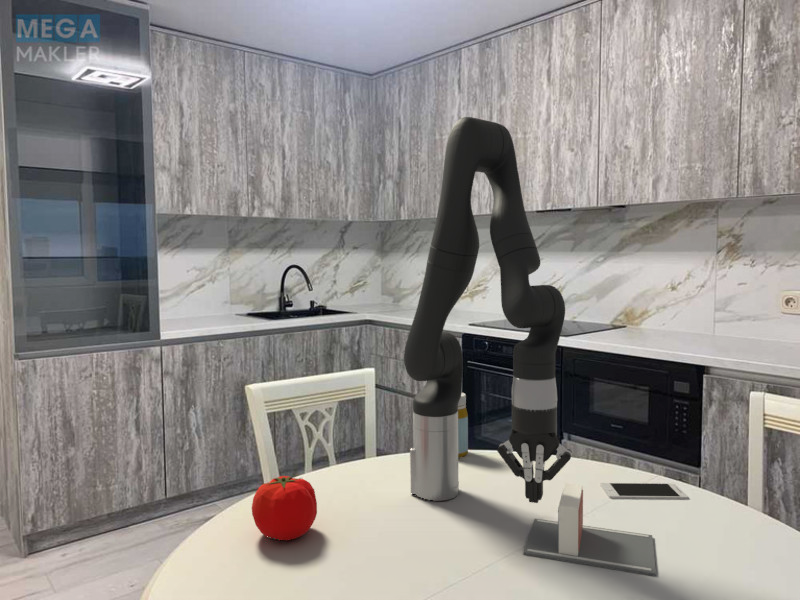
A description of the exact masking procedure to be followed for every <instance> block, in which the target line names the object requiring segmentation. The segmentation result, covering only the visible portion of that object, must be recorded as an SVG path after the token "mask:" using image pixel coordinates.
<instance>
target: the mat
mask: <svg viewBox="0 0 800 600" xmlns="http://www.w3.org/2000/svg"><path fill="white" fill-rule="evenodd" d="M522 554H523V555H525V556H531V557H538V558H543V559H548V560H549V559H550V560H554V561H555V560H556V561H561V562H568V563H573V564H579V565H586V566H592V567H599V568H604V569H610V570H611V569H612V570H617V571H622V572H629V573H635V574H641V575H645V576H653V577H656V576H657V573H656V560H655V549H654V539H653V535H652V534H647V533H639V532H631V531H624V530H617V529H612V528H605V527H598V526H597V527H596V526H592V525H591V526H590V525H584V524H583V529H582V536H581V542H580V548H579V552H578V556H573V555H567V554H561V553H559V548H558V521H554V520H548V519H540V518H534V519H533V521H532V524H531V527H530V531H529V535H528V537H527V539H526V542H525V545H524V549H523V552H522Z"/></svg>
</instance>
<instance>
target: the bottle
mask: <svg viewBox="0 0 800 600" xmlns="http://www.w3.org/2000/svg"><path fill="white" fill-rule="evenodd" d="M466 400H467V395H466V393H464V392H462V393H461V398H460V400H459V403H458V459H460V458H459V457H461V458H464V457H466V455H468V453H469V439H468V438H469V418H468V417H469V415H468V411H467V410H468V409H467V408H466V407H467V405H466V403H467V401H466Z"/></svg>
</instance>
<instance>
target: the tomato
mask: <svg viewBox="0 0 800 600" xmlns="http://www.w3.org/2000/svg"><path fill="white" fill-rule="evenodd" d="M317 502H318V501H317V497H316V492H315V488H314V487H313V486H312V484H311V483H310V482H309V481H308V480H305V479H304V478H302V477H299V478H296V477H292V476H289V475H281V476H278V477H275V478H274V477H273V478H272V479H271V480H270V481H269V482H265V483H263V484H261V485H260V486H259V487H258V488H257V489H256V491H255V494H254V495H253V497H252V504H251V515H252V517H253V520H254V523H255V526H256V527H257V529H258V530H259V532H260V533H261V534H263V536H265V537H267V536H268V537H271V538H270V539H272V538H275V539H274V540H276V539H279V540H278V541H280V540H286V541H291V539H292V540H295V539H298V538H300V537H302V536H304V535H305V534H306V533H307V532H308V531H309V530H310V529H311V527H312V526H313V524H314V522H315V520H316V518H317V514H318V506H317V505H318V503H317ZM268 537H267V538H268Z"/></svg>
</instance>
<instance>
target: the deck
mask: <svg viewBox="0 0 800 600" xmlns="http://www.w3.org/2000/svg"><path fill="white" fill-rule="evenodd" d="M557 508H558V510H557V511H558V512H557V514H558V516H557V518H558V521H557V522H558V548H559V553H561V554H567V555H573V556H578V552H579V548H580V542H581V536H582V529H583V525H584V519H583V518H584V490H583V484H576V483H570V482H569V483H568V482H564V486H563V488H562V491H561V496H560V500H559V504H558V507H557Z"/></svg>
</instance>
